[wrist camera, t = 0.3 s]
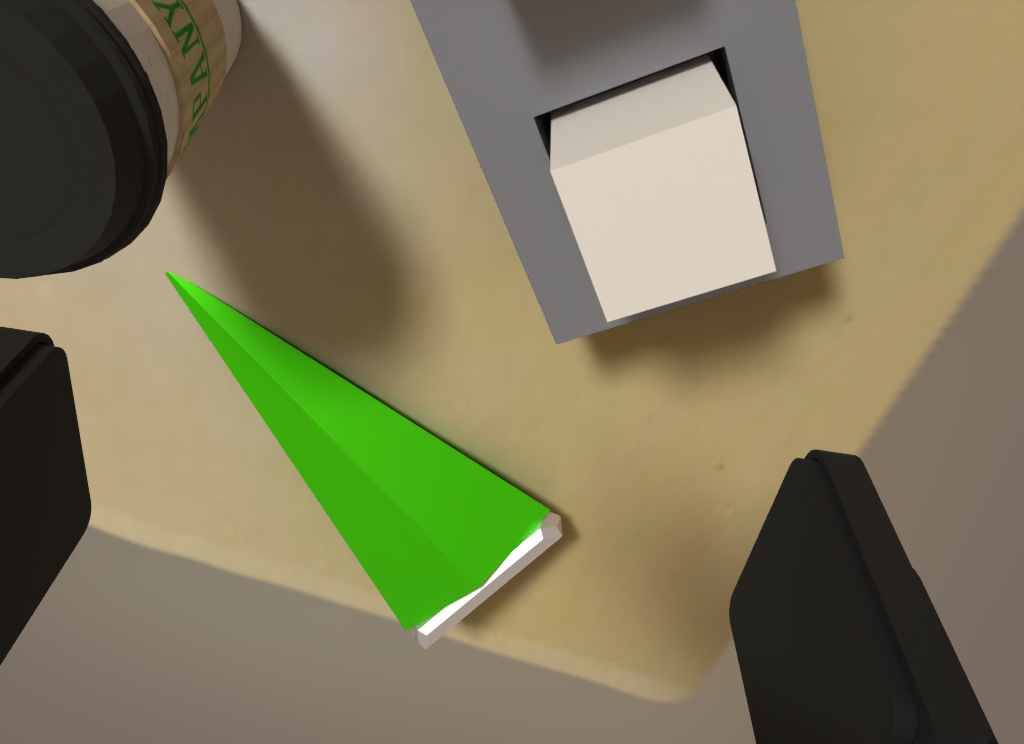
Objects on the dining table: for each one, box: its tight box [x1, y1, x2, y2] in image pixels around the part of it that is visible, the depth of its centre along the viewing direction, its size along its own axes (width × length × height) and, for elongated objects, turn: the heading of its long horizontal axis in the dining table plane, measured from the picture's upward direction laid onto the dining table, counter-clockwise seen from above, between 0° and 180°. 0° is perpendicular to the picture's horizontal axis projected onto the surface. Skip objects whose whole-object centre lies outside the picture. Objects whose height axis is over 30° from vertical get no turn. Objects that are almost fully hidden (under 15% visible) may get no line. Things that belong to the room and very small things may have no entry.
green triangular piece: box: [165, 272, 562, 649], centre depth 46 cm, size 11×5×25 cm
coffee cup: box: [0, 0, 242, 279], centre depth 29 cm, size 10×10×15 cm
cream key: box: [550, 54, 776, 322], centre depth 31 cm, size 6×6×6 cm
